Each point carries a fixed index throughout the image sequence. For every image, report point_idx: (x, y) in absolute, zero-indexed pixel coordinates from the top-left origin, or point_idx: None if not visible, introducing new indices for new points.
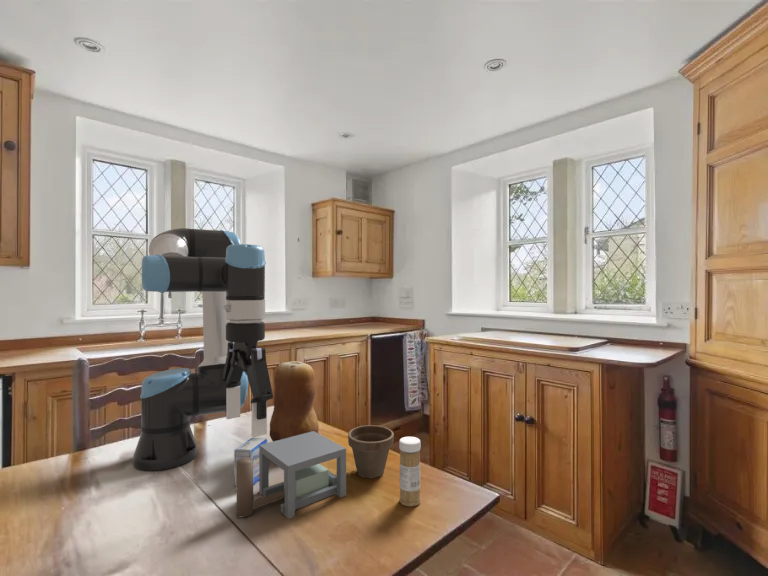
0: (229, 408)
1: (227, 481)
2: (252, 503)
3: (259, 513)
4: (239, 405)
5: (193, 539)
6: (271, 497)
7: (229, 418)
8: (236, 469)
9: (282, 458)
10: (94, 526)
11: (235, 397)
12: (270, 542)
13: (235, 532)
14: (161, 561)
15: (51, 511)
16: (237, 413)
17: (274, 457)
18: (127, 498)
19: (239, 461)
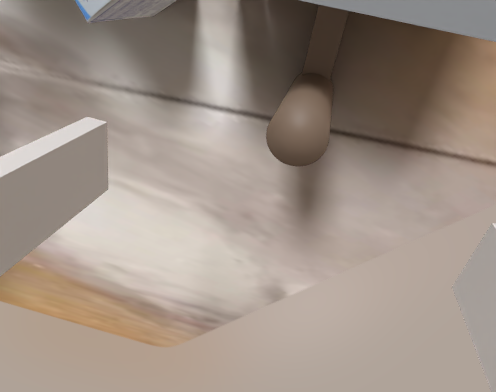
0: (70, 210)
1: None
2: (330, 86)
3: (340, 61)
4: (59, 152)
5: (302, 208)
6: (337, 12)
7: (106, 182)
8: (133, 15)
9: (406, 2)
10: (130, 267)
11: (14, 211)
12: (469, 125)
13: (357, 148)
14: (316, 265)
15: (41, 277)
16: (93, 147)
17: (348, 10)
18: None
19: (285, 152)
